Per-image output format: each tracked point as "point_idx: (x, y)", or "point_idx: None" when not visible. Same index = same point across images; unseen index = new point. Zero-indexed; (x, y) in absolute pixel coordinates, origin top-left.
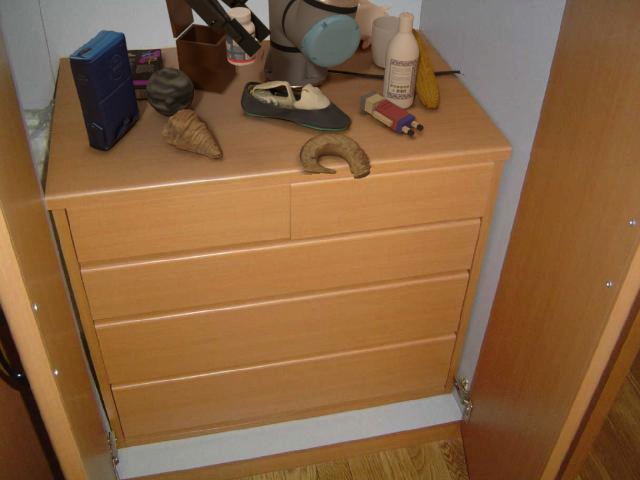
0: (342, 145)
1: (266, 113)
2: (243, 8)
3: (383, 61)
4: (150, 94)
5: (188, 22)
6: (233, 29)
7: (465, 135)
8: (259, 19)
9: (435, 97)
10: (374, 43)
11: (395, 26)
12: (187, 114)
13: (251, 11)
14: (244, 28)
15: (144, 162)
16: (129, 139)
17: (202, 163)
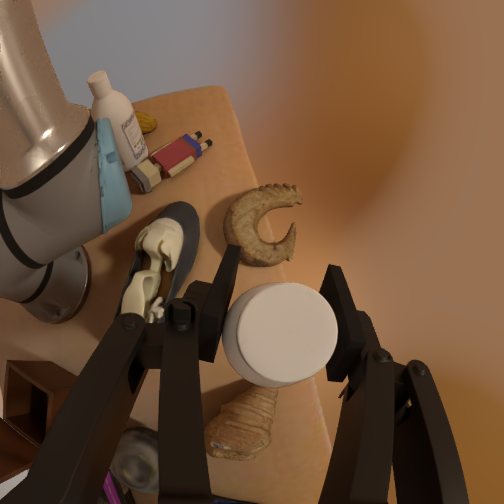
0: (257, 208)
1: None
2: (253, 316)
3: None
4: None
5: (8, 429)
6: (376, 337)
7: (205, 107)
8: (219, 268)
9: (150, 116)
10: None
11: None
12: (242, 434)
13: (212, 291)
14: (342, 305)
15: (283, 464)
16: (229, 490)
17: (281, 397)
